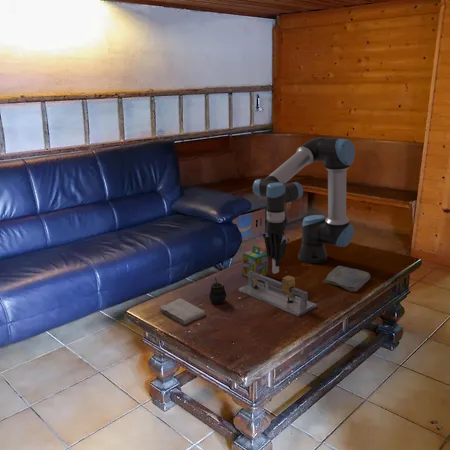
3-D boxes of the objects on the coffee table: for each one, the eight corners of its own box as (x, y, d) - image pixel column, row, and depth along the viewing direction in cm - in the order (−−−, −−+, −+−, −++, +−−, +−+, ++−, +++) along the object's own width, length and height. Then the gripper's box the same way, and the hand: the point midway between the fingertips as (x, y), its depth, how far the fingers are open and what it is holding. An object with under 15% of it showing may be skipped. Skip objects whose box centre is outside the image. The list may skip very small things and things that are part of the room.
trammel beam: (257, 283, 221) (257, 267, 219) (316, 306, 197) (317, 289, 195) (238, 290, 213) (238, 274, 211) (298, 316, 189) (298, 298, 187)
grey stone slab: (319, 286, 219) (354, 294, 209) (319, 277, 218) (354, 284, 208) (338, 274, 235) (371, 280, 224) (338, 265, 233) (372, 271, 223)
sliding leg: (287, 297, 203) (288, 275, 200) (294, 299, 200) (295, 277, 197) (281, 300, 200) (282, 278, 197) (288, 302, 198) (288, 280, 195)
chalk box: (241, 275, 230) (241, 247, 226) (254, 270, 236) (254, 242, 232) (255, 280, 224) (256, 251, 219) (268, 275, 230) (268, 246, 225)
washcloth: (179, 302, 204) (179, 295, 204) (207, 316, 192) (207, 309, 191) (157, 311, 197) (156, 305, 196) (184, 326, 184) (184, 319, 183)
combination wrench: (263, 281, 214) (297, 294, 200) (265, 280, 215) (299, 293, 201) (263, 289, 215) (297, 302, 201) (265, 288, 216) (299, 301, 202)
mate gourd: (213, 306, 199) (212, 285, 196) (206, 299, 206) (205, 278, 203) (228, 303, 202) (228, 281, 199) (221, 296, 208) (221, 275, 205)
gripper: (258, 219, 198) (258, 270, 205) (281, 225, 189) (281, 279, 196) (269, 215, 202) (270, 265, 210) (293, 221, 193) (292, 274, 201)
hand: (275, 272), depth 203 cm, fingers closed
